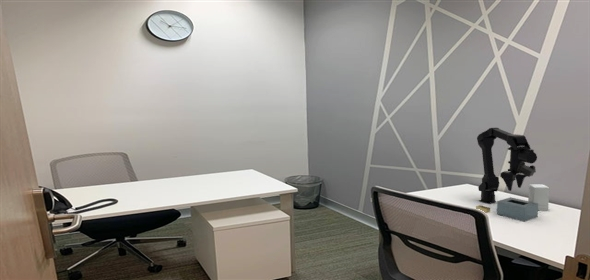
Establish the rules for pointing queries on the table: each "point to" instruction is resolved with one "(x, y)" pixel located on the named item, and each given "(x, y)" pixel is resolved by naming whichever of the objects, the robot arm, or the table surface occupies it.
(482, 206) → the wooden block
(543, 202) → the supplement box
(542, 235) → the table surface
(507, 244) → the table surface
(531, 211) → the box
